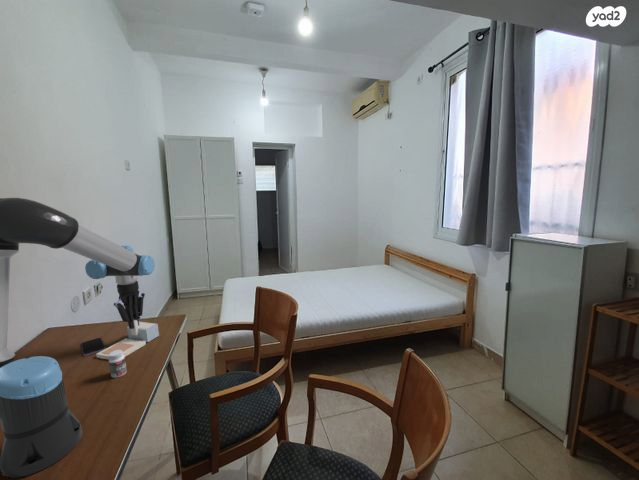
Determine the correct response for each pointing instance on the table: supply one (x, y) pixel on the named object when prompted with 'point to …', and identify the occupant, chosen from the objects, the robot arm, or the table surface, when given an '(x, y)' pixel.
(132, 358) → the table surface
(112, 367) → the pill bottle
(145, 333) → the blue framed panel box
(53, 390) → the robot arm
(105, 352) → the board
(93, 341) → the smartphone
